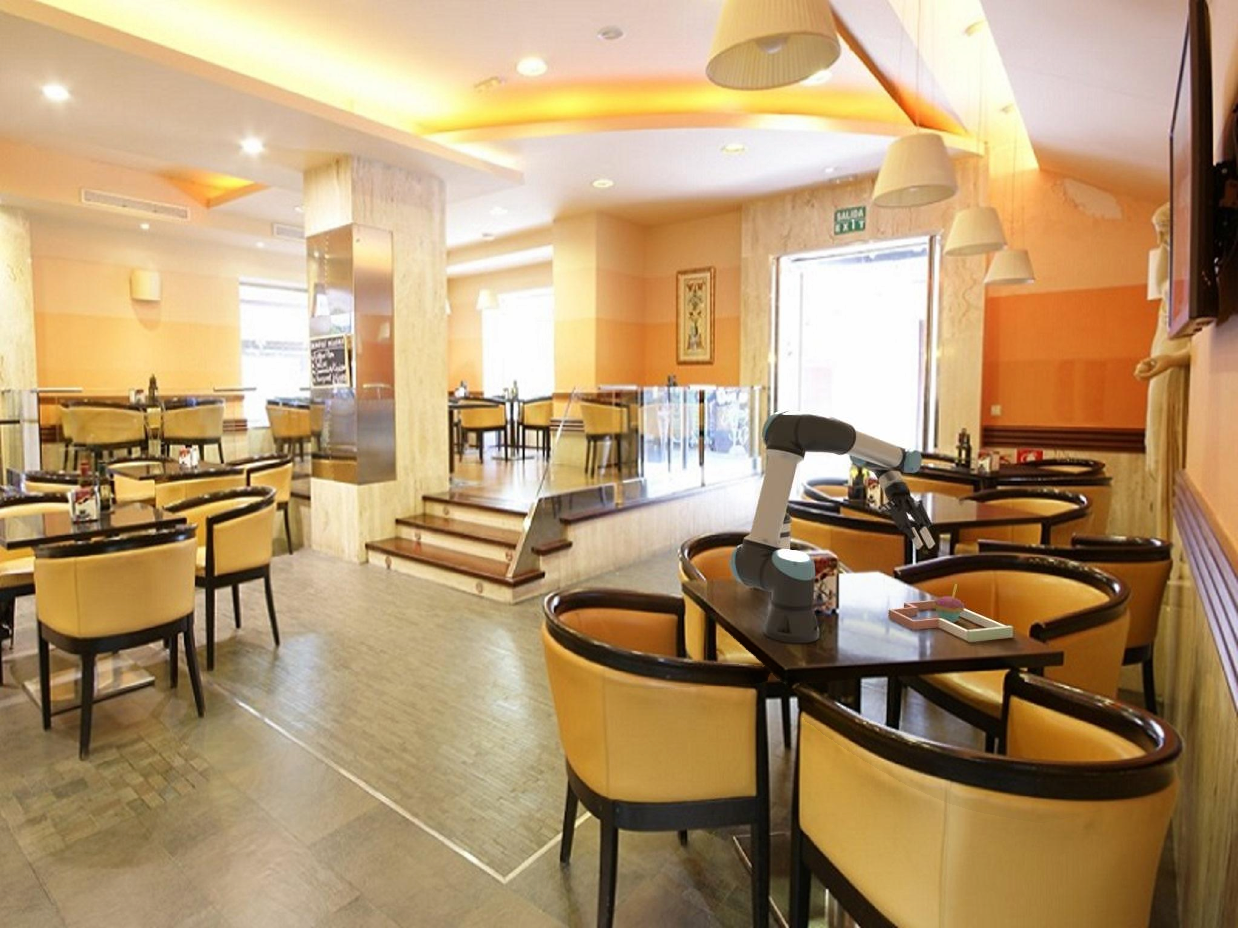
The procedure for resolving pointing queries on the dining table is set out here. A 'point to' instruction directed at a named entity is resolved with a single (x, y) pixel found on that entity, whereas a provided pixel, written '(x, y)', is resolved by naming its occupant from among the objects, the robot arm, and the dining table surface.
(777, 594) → the robot arm
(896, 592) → the dining table surface
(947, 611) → the cupcake
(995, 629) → the track
